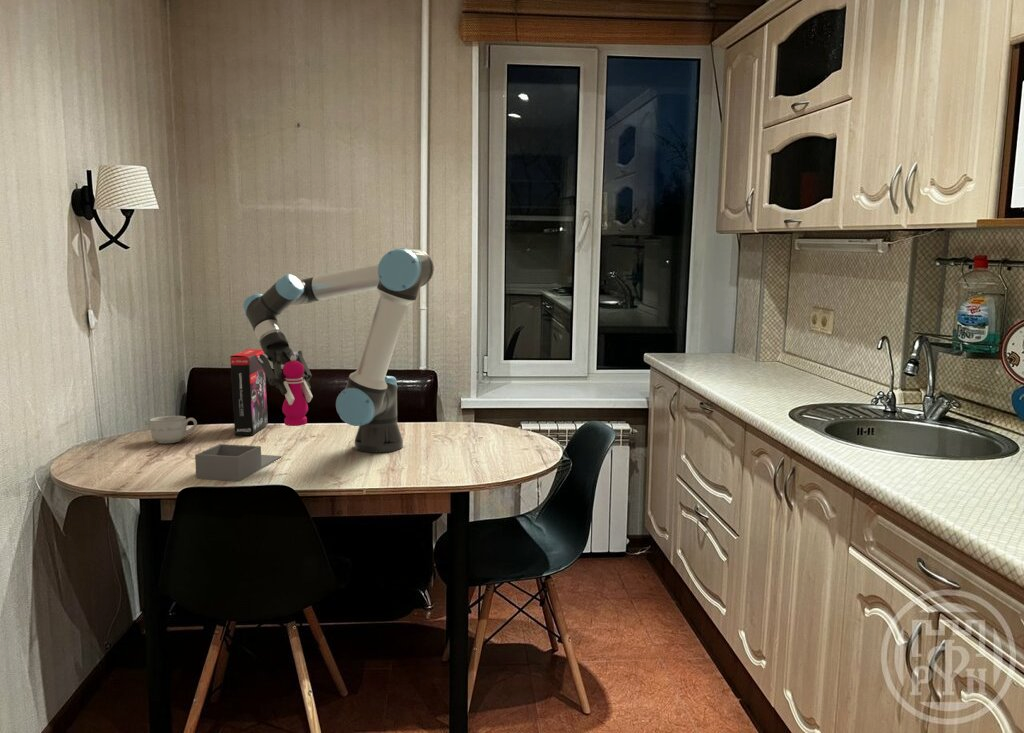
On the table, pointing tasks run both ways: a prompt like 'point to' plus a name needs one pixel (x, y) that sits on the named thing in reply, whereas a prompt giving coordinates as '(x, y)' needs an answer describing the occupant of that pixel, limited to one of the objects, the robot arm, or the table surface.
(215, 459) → the box
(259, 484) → the table surface
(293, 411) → the pepper mill
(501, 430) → the table surface
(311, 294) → the robot arm
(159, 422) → the teacup
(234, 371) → the graphics card box
